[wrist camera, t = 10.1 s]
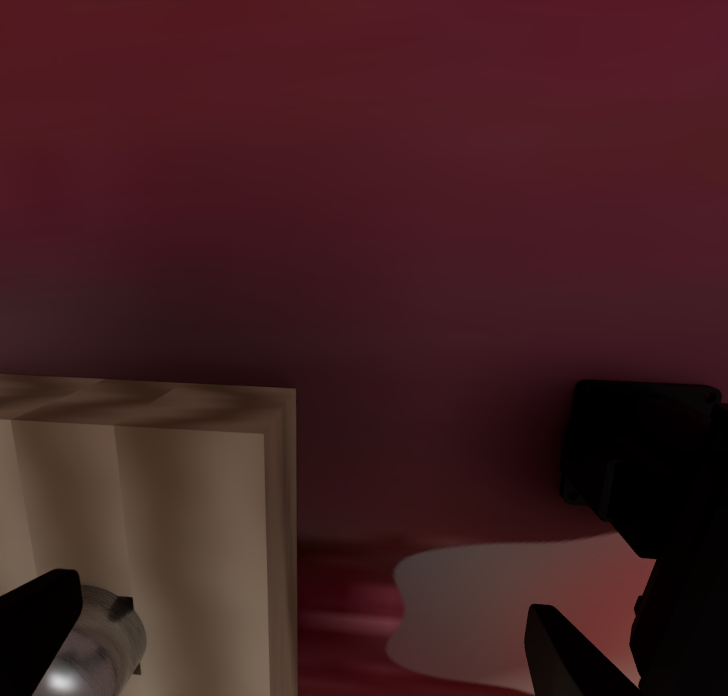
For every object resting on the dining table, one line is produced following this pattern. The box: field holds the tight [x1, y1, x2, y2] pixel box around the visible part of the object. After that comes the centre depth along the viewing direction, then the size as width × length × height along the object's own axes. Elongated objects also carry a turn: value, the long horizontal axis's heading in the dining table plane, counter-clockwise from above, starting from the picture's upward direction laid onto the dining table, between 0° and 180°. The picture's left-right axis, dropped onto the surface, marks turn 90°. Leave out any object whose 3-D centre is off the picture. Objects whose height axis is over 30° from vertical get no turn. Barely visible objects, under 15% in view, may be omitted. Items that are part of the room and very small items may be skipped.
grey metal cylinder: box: [32, 585, 147, 696], centre depth 19 cm, size 5×5×8 cm
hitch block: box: [0, 374, 298, 696], centre depth 21 cm, size 16×20×6 cm
